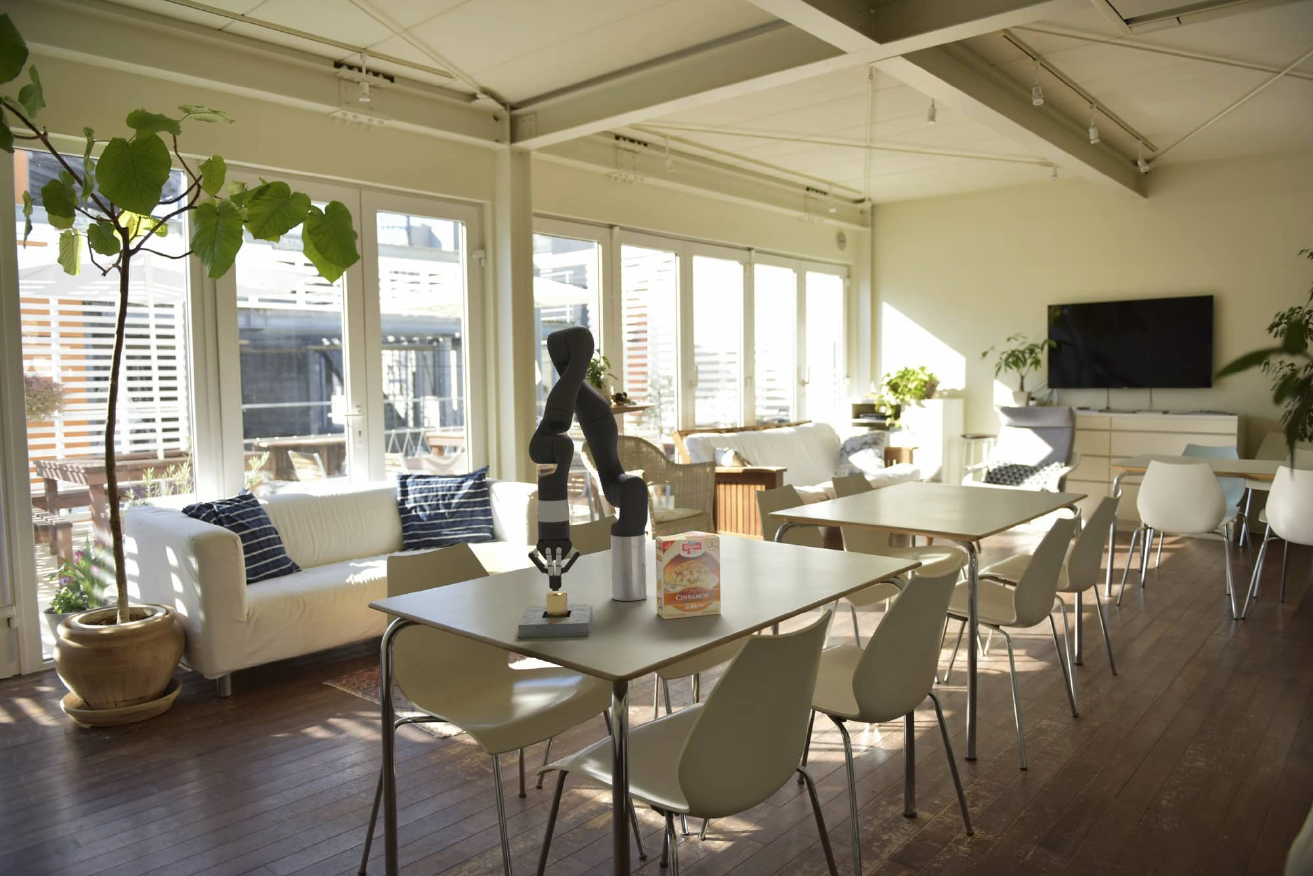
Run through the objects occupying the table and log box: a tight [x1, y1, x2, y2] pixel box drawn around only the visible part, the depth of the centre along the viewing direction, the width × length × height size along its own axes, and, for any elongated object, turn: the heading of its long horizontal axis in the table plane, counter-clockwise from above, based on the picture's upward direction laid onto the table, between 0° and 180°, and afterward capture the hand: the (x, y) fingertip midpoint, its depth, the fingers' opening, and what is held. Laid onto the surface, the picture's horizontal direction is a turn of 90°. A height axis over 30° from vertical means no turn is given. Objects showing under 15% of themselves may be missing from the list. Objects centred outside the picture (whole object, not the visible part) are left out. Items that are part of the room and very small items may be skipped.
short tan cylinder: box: [545, 590, 569, 618], centre depth 220 cm, size 5×5×8 cm
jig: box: [517, 603, 594, 639], centre depth 220 cm, size 16×18×3 cm
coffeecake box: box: [655, 532, 722, 620], centre depth 230 cm, size 15×7×20 cm, turn 106°
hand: (555, 590), depth 220 cm, fingers closed
